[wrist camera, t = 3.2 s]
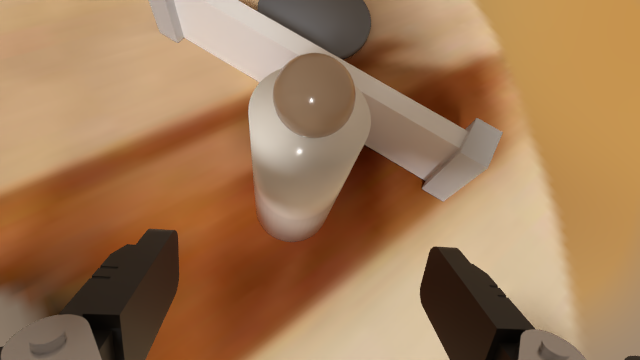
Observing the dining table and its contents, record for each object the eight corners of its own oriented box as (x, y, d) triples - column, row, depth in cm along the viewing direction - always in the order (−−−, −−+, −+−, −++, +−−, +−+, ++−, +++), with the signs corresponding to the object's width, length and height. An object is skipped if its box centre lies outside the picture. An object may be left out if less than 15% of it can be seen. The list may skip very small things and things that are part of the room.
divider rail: (159, 32, 28) (135, -36, 23) (184, 11, 29) (167, -57, 24) (443, 201, 25) (487, 168, 20) (457, 171, 26) (502, 132, 21)
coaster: (234, 23, 29) (233, 17, 29) (297, -35, 33) (298, -41, 33) (334, 81, 28) (335, 77, 28) (387, 14, 32) (389, 8, 32)
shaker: (241, 216, 23) (212, 78, 10) (282, 162, 25) (297, -6, 12) (302, 256, 22) (348, 159, 10) (339, 198, 24) (414, 59, 12)
